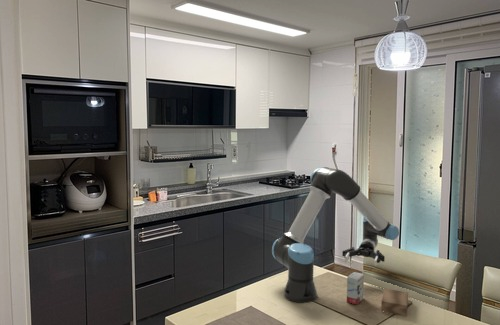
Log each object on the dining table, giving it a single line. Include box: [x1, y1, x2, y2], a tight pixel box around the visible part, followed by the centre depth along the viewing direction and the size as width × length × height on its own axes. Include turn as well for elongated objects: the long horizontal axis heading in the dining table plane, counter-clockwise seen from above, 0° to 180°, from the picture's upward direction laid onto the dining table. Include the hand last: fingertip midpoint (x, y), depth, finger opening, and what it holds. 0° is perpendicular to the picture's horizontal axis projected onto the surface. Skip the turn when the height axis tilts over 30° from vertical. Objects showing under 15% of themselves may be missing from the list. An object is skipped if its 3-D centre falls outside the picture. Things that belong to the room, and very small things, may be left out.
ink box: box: [346, 271, 365, 306], centre depth 175 cm, size 9×5×12 cm, turn 143°
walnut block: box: [380, 288, 409, 317], centre depth 169 cm, size 10×14×5 cm
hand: (360, 261), depth 184 cm, fingers open, 13 cm apart
